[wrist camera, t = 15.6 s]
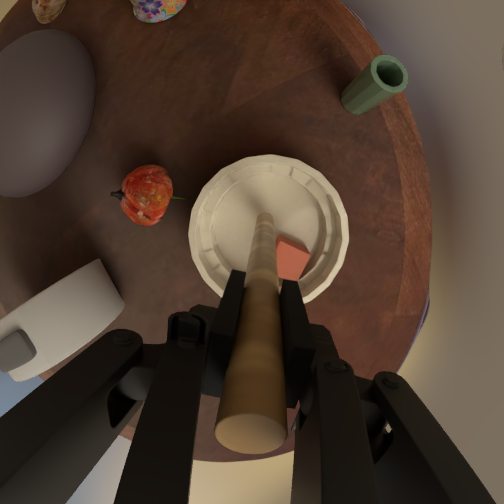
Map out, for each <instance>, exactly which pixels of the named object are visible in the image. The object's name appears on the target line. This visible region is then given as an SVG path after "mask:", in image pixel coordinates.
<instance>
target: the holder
mask: <svg viewBox="0 0 504 504" xmlns="http://www.w3.org/2000/svg"><path fill="white" fill-rule="evenodd" d="M407 85H408V73H407V71H406V69H405V67H404V65H403V64H402V63H400V61H398V59H396V58H394V57H392V56H389V55H380V56H376V57H375V58H374V59H373V60H372V62H371V63H370V64H369V65H368V66H367V67H366V68H365V69H364V70H363V71H362V72H361V73H360V74H359V75H358V76H357V77H356V78H355V79H354V80H353V81H352V82H351V83H350V84H349V85H348V86H347V88H346V89H345V90H344V91H343V92H342V95H341V102H342V104H343V106H344V108H345V109H346V110H347V111H348V112H350V113H352V114H356V115H360V114H363V113H366V112H367V111H369V110H371V109H372V108H374V107H376V106H377V105H379V104H381V103H383V102H384V101H386V100H388V99H389V98H391V97H393V96H395V95H396V94H398V93H400V92H401V91H403V90H404V89H405V87H406V86H407Z"/></svg>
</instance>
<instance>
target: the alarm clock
mask: <svg viewBox="0 0 504 504" xmlns="http://www.w3.org/2000/svg"><path fill="white" fill-rule="evenodd" d="M124 306H125V303H124V302H123V300H122V298H121V296H120V295H119V293H118V291H117V289H116V288H115V286H114V284H113V282H112V281H111V279H110V277H109V275H108V273H107V271H106V270H105V268H104V266H103V264H102V262H101V260H100V259H96V260H94V261H92V262H91V263H89V264H87V265H85V266H83V267H82V268H80V269H78V270H76V271H75V272H73V273H71V274H69V275H68V276H66V277H64V278H63V279H61V280H59V281H58V282H56V283H55V284H53V285H51V286H50V287H48V288H47V289H45V290H43V291H42V292H40V293H39V294H37V295H36V296H34V297H33V298H31V299H30V300H28V301H26V302H25V303H23V304H22V305H21V306H19V307H18V308H16V309H15V310H13V311H12V312H10V313H9V314H7V315H6V316H5V317H3V318H2V319H1V320H0V370H1V371H2V372H9V374H10V375H11V377H12V378H13V380H15V381H17V382H19V381H24V380H27V379H29V378H32V377H34V376H36V375H38V374H40V373H42V372H44V371H46V370H47V369H49V368H51V367H53V366H54V365H56V364H57V363H59V362H61V361H62V360H64V359H65V358H67V357H68V356H70V355H71V354H73V353H74V352H75V351H77V350H78V349H80V348H81V347H82V346H84V345H85V344H86V343H88V342H89V341H90V340H92V339H93V338H94V337H95V336H96V335H98V334H99V333H100V332H101V331H103V330H104V329H105V328H106V327H107V326H108V325H109V324H110V323H111V322H112V321H113V320H115V319H116V317H117V316H118V315H119V314H120V313H121V312H122V310H123V308H124Z"/></svg>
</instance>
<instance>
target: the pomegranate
mask: <svg viewBox="0 0 504 504" xmlns="http://www.w3.org/2000/svg"><path fill="white" fill-rule="evenodd" d="M172 195H173V187H172V181H171V179H170V177H169V176H168V172H167V171H166V170H165V169H164V168H163V167H160V166H157V165H153V164H152V165H144V166H141V167H138V168H136V169H134V170H133V171H131V172H130V173H129V174H128V175H127V176H126V178H125V179H124V181H123V183H122V187H121V189H120V190H119V191H117V192H111V193H110V195H109V197H110V196H115V197H118V199H119V200H120V201H121V207H122V209H123V211H124V212H125V213H126V214H127V215H128V217H129V218H130V219H131V220H132V221H134V222H135V223H137V224H140V225H146V226H148V225H153V224H155V223H157V222H159V221H160V220H161V219H162V216H163V215H164V213H165V212H166V209H167V206H168V204H169V201H170V199H171V198H174V199H186V198H182V197H177V196H175V195H173V196H172Z"/></svg>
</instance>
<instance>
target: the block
mask: <svg viewBox="0 0 504 504" xmlns="http://www.w3.org/2000/svg"><path fill="white" fill-rule="evenodd" d="M275 243H276V255H277V268H278V277H280V278H282V279H288V280H294V281H298V279H299V278H300V276H301V274H302V272H303V270H304V268H305V266H306V264H307V262H308V261H309V259H310V257H311V254H310V252H309V251H308V249H307V247H305V246H303V245H301V244H299V243H297V242H295V241H293V240H291V239H288V238H286V237H284V236H282V235H280V234H279V235H278V237H277V239H276V241H275Z"/></svg>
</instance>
